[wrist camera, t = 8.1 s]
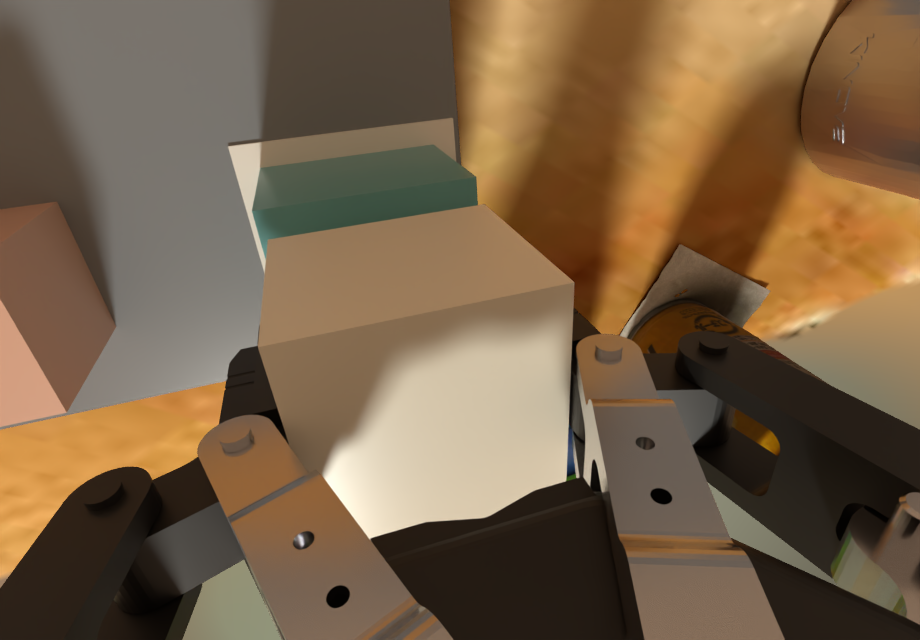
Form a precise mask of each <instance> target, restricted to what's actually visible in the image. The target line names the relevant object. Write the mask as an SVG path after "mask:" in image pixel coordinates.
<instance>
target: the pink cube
mask: <svg viewBox="0 0 920 640" xmlns="http://www.w3.org/2000/svg"><path fill="white" fill-rule="evenodd" d="M115 328H116V325H115V323H114V321H113V319H112V317H111V315H110V313H109V311H108V308H107V306H106V304H105V302H104V300H103V298H102V296H101V294H100V291H99V289H98V287H97V285H96V283H95V281H94V279H93V277H92V275H91V272H90V270H89V268H88V266H87V264H86V262H85V260H84V258H83V255H82V253H81V251H80V249H79V247H78V245H77V243H76V241H75V239H74V236H73V234H72V232H71V230H70V228H69V226H68V224H67V222H66V220H65V217H64V215H63V213H62V211H61V209H60V207H59V205H58V203H57V202H50V203H43V204H36V205H28V206H21V207H14V208H7V209H0V427H3V426H7V425H12V424H17V423H21V422H26V421H31V420H35V419H40V418H45V417H49V416H54V415H59V414H63V413H67V411H68V410H69V408H70V406H71V405H72V403H73V401H74V399H75V398H76V396H77V394H78V392H79V391H80V389H81V387H82V385H83V384H84V382H85V380H86V379H87V377H88V375H89V373H90V372H91V370H92V368H93V366H94V365H95V363H96V361H97V359H98V358H99V356H100V354H101V353H102V351H103V349H104V347H105V346H106V344H107V342H108V340H109V339H110V337H111V335H112V334H113V332H114V330H115Z"/></svg>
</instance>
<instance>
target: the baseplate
mask: <svg viewBox="0 0 920 640" xmlns="http://www.w3.org/2000/svg"><path fill="white" fill-rule="evenodd" d="M433 144H434V145H435V146H436V147H437V148H439V149H440V150H441V151H443V152H444V153H445V154H447V155H448V156H449V157H451V158H452V159H453V160H455V161H456V162H457V163H459V164H460V165H461V157H460V143H459V129H458V115H457V101H456V87H455V72H454V58H453V44H452V30H451V16H450V2H449V0H0V209H7V208H14V207H21V206H28V205H36V204H43V203H50V202H57V203H58V205H59V207H60V209H61V211H62V213H63V215H64V217H65V220H66V222H67V224H68V226H69V228H70V230H71V232H72V234H73V236H74V239H75V241H76V243H77V245H78V247H79V249H80V251H81V253H82V255H83V258H84V260H85V262H86V264H87V266H88V268H89V270H90V272H91V275H92V277H93V279H94V281H95V283H96V285H97V287H98V289H99V291H100V294H101V296H102V298H103V300H104V302H105V304H106V306H107V308H108V311H109V313H110V315H111V317H112V319H113V321H114V323H115V325H116V328H115V330H114V332H113V334H112V335H111V337H110V339H109V340H108V342H107V344H106V346H105V347H104V349H103V351H102V353H101V354H100V356H99V358H98V359H97V361H96V363H95V365H94V366H93V368H92V370H91V372H90V373H89V375H88V377H87V379H86V380H85V382H84V384H83V385H82V387H81V389H80V391H79V392H78V394H77V396H76V398H75V399H74V401H73V403H72V405H71V406H70V408H69V410H68V411H67V413H63V414H59V415H54V416H49V417H45V418H40V419H35V420H31V421H26V422H21V423H17V424H12V425H7V426H3V427H0V429H5V428H10V427H14V426H19V425H23V424H28V423H33V422H37V421H42V420H47V419H51V418H56V417H61V416H65V415H70V414H75V413H79V412H84V411H89V410H93V409H98V408H102V407H107V406H112V405H116V404H121V403H126V402H130V401H135V400H140V399H144V398H149V397H154V396H158V395H163V394H168V393H172V392H177V391H181V390H186V389H191V388H195V387H200V386H205V385H209V384H214V383H219V382H223V381H226V380H227V379H228V378H227V374H228V368H229V363H230V362H231V360H232V359H233V358H234V357H235V355H236V354H237V353H238V352H239V351H240V349H244V348H249V347H254V346H257V343H258V332H259V325H260V319H261V308H262V297H263V286H264V275H265V264H266V259H265V256H264V252H263V249H262V245H261V242H260V238H259V235H258V231H257V228H256V224H255V221H254V217H253V213H252V207H253V202H254V197H255V192H256V187H257V182H258V176H259V171H260V168H264V167H271V166H278V165H286V164H293V163H300V162H308V161H315V160H322V159H330V158H337V157H345V156H352V155H359V154H367V153H374V152H381V151H389V150H396V149H403V148H411V147H418V146H425V145H433Z"/></svg>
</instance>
